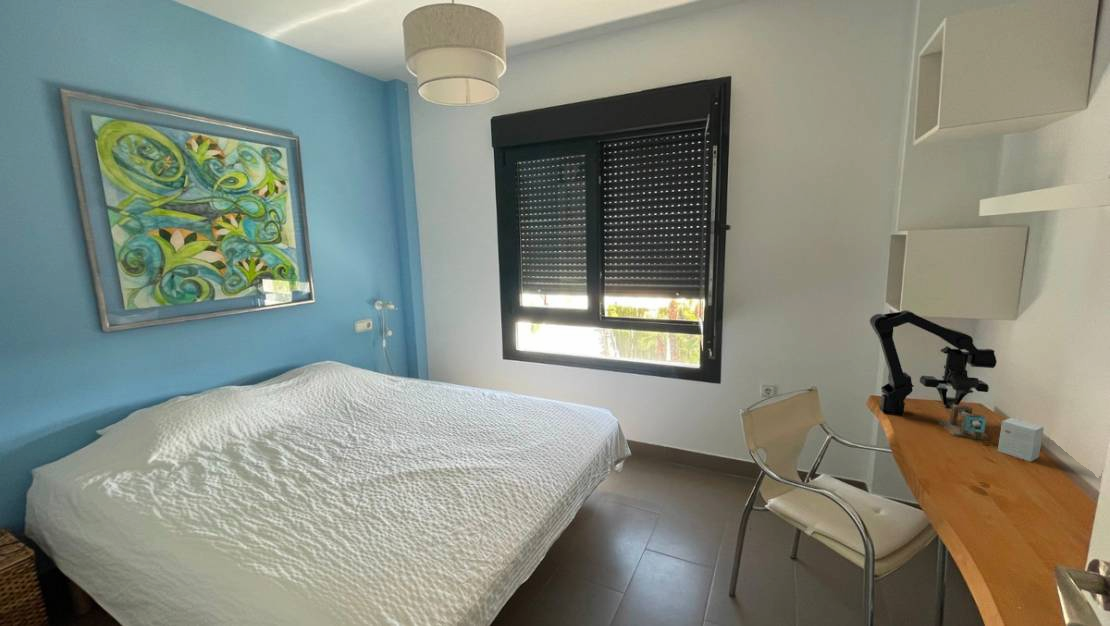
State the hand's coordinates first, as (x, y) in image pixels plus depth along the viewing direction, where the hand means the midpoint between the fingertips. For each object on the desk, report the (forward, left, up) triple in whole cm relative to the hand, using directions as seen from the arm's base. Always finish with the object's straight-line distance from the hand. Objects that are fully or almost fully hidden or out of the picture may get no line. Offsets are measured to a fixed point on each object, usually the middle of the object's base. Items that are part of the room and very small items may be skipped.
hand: (949, 405), depth 168 cm
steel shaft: (0, -10, -1) cm, 10 cm away
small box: (+8, -27, -5) cm, 29 cm away
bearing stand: (0, -11, -5) cm, 12 cm away
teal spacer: (0, -19, -2) cm, 19 cm away
